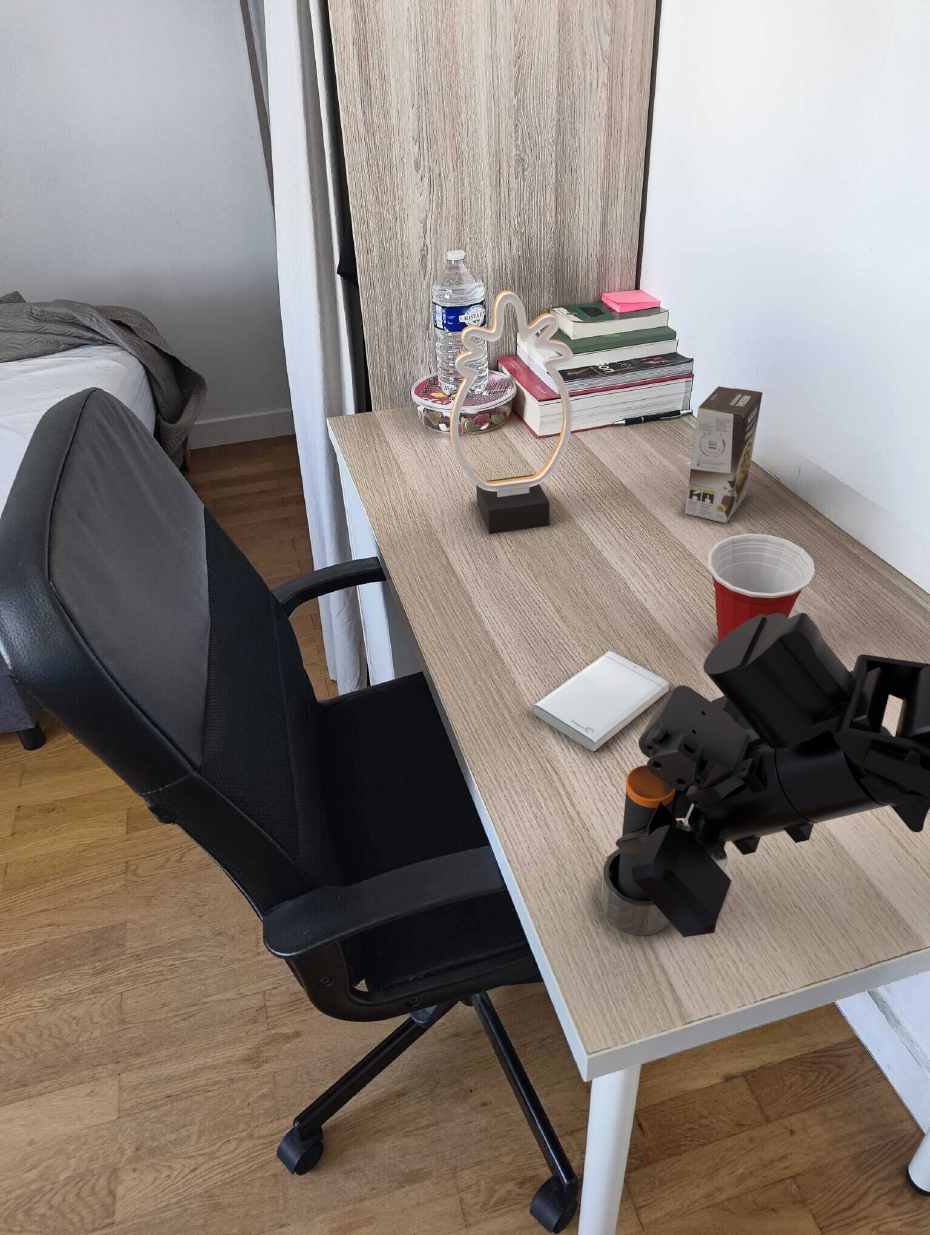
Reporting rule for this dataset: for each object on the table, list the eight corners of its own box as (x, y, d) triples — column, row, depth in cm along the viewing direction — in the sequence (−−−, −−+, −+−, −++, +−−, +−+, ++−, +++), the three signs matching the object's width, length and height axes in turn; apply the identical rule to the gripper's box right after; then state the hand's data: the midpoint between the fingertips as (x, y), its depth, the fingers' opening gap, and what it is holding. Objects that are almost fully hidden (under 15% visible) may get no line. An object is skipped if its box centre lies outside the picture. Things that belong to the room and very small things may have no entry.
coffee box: (727, 524, 117) (744, 415, 108) (683, 514, 120) (696, 407, 111) (747, 496, 124) (764, 390, 114) (704, 487, 126) (718, 383, 117)
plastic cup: (685, 667, 93) (697, 576, 86) (705, 613, 101) (718, 526, 94) (788, 690, 89) (809, 597, 82) (800, 632, 97) (821, 543, 90)
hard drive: (594, 741, 82) (669, 680, 89) (533, 703, 87) (608, 648, 94) (594, 753, 83) (668, 692, 90) (533, 714, 88) (607, 659, 95)
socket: (685, 924, 68) (690, 894, 65) (618, 944, 66) (621, 914, 64) (653, 867, 72) (657, 837, 70) (590, 885, 71) (592, 854, 69)
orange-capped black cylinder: (640, 863, 70) (652, 757, 63) (670, 893, 68) (686, 786, 60) (608, 884, 68) (616, 777, 61) (637, 914, 66) (649, 808, 59)
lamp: (559, 493, 127) (563, 274, 109) (576, 521, 120) (583, 292, 101) (450, 508, 125) (435, 288, 107) (461, 537, 118) (447, 307, 99)
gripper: (763, 606, 59) (607, 680, 70) (678, 784, 46) (505, 840, 57) (857, 722, 60) (690, 777, 71) (801, 927, 47) (608, 955, 59)
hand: (628, 829), depth 65 cm, fingers closed on orange-capped black cylinder, 3 cm apart
